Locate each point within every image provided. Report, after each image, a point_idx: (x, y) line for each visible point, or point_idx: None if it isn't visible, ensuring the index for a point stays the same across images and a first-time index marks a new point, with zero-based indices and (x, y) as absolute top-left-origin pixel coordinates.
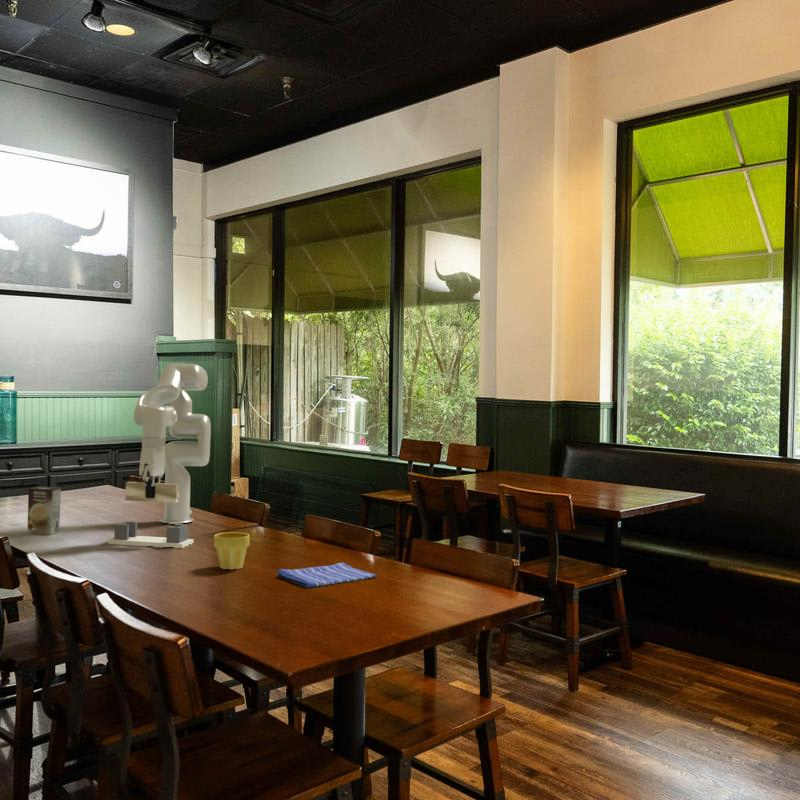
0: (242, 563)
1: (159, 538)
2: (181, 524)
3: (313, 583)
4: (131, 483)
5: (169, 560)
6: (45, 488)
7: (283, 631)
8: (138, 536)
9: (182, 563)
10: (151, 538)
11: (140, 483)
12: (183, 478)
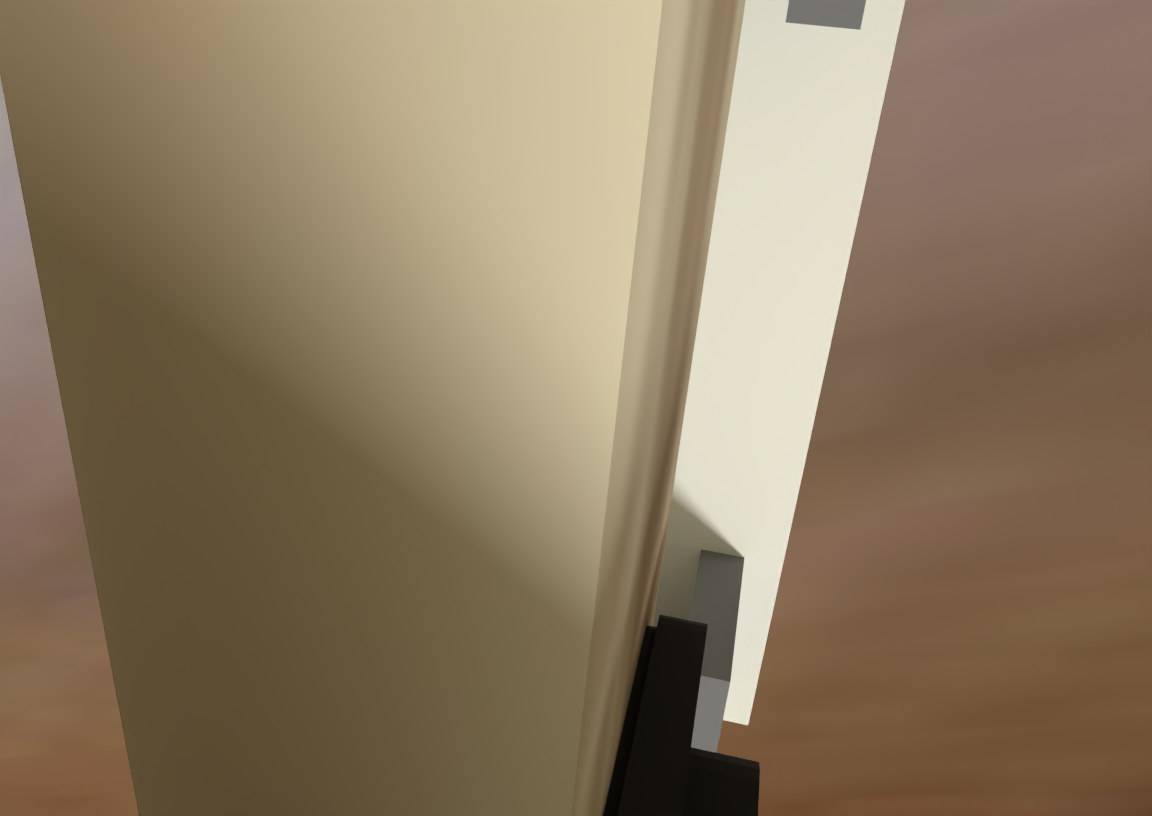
0: None
1: (732, 380)
2: (708, 746)
3: None
4: (41, 99)
5: (38, 613)
6: None
7: None
8: (844, 41)
9: (3, 703)
10: (714, 282)
11: (129, 708)
12: None
